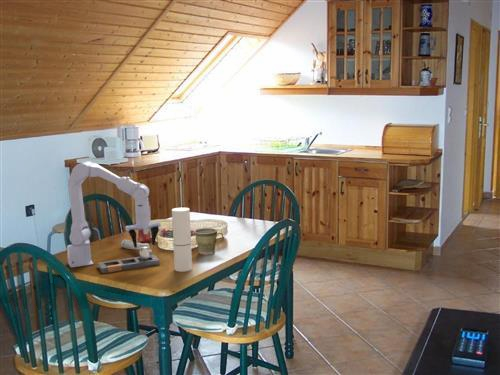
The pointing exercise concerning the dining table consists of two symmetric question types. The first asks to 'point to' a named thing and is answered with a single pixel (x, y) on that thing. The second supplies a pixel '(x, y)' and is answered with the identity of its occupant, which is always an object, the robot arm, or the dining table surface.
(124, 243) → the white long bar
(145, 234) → the liquor
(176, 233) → the cylindrical container
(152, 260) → the grey slotted tray
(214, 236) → the ceramic cup
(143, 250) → the peg
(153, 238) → the robot arm
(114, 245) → the dining table surface
